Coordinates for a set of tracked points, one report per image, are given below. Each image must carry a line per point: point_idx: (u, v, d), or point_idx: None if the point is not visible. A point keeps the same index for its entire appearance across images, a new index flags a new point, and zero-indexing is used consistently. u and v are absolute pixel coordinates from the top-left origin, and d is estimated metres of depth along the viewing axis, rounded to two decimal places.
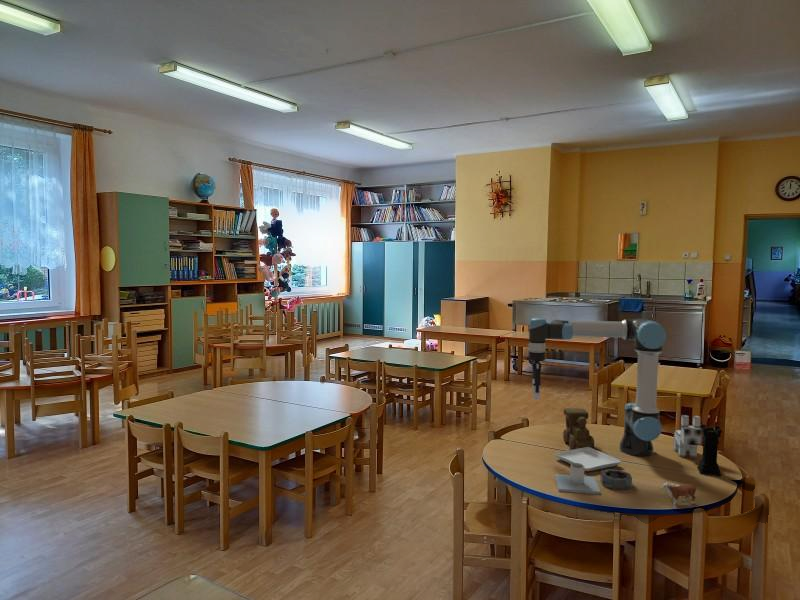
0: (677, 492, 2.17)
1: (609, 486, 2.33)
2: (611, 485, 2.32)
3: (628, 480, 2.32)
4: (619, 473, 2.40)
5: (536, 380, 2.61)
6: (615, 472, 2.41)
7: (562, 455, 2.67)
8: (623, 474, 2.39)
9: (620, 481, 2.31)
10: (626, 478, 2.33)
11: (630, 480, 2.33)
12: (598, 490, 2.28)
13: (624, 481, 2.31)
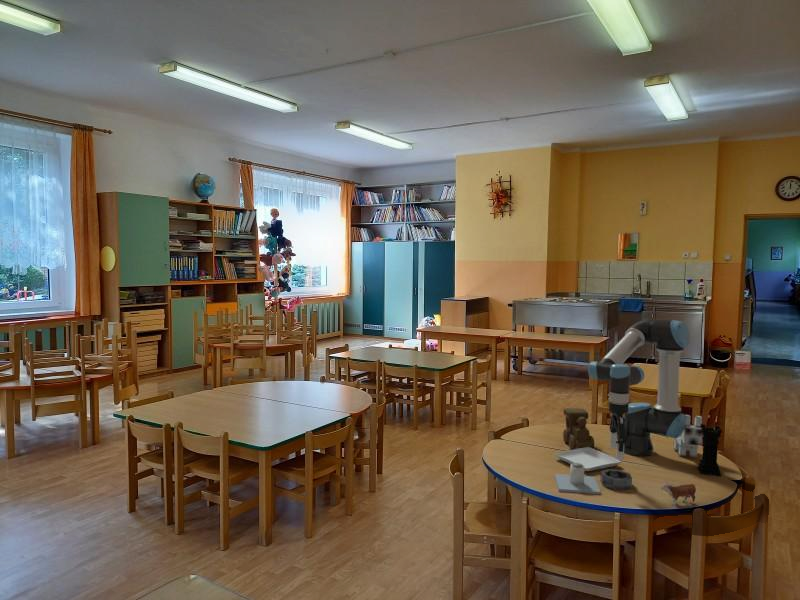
0: (677, 492, 2.17)
1: (609, 486, 2.33)
2: (611, 485, 2.32)
3: (628, 480, 2.32)
4: (619, 473, 2.40)
5: (621, 437, 2.26)
6: (615, 472, 2.41)
7: (562, 455, 2.67)
8: (623, 474, 2.39)
9: (620, 481, 2.31)
10: (626, 478, 2.33)
11: (630, 480, 2.33)
12: (598, 490, 2.28)
13: (624, 481, 2.31)
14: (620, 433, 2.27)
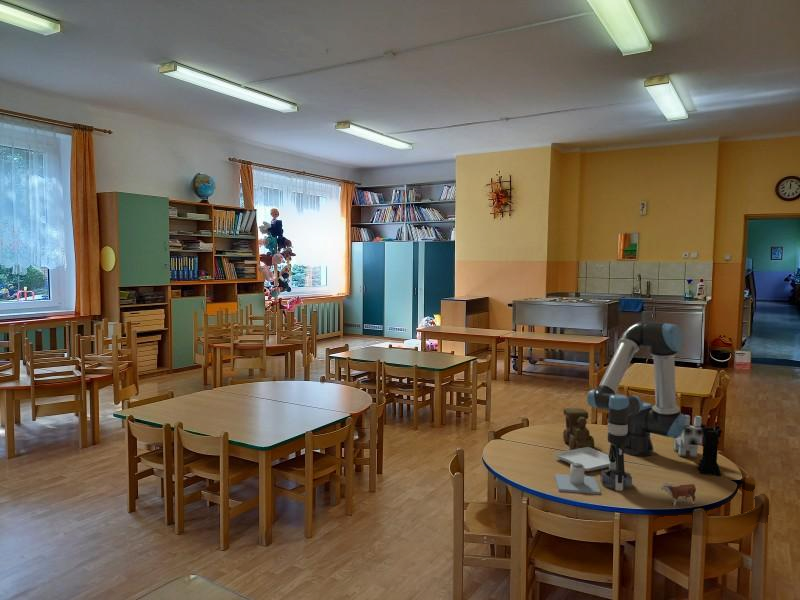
0: (677, 492, 2.17)
1: (609, 486, 2.33)
2: (611, 485, 2.32)
3: (628, 480, 2.32)
4: None
5: (619, 469, 2.27)
6: (615, 472, 2.41)
7: (562, 455, 2.67)
8: None
9: None
10: (626, 478, 2.33)
11: (630, 480, 2.33)
12: (598, 490, 2.28)
13: (624, 481, 2.31)
14: (619, 465, 2.28)
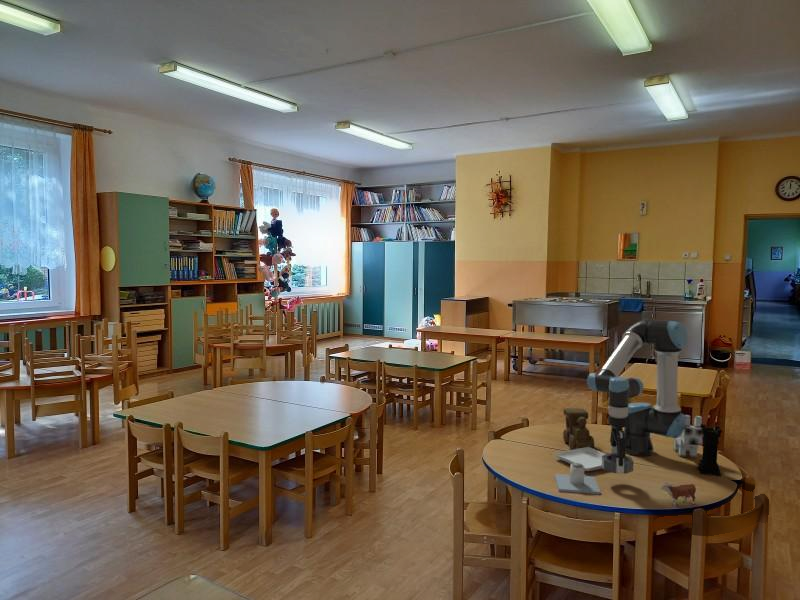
0: (677, 492, 2.17)
1: (611, 470, 2.33)
2: (612, 469, 2.32)
3: (629, 464, 2.32)
4: None
5: (620, 452, 2.28)
6: None
7: (562, 455, 2.67)
8: (624, 458, 2.39)
9: None
10: (627, 462, 2.33)
11: (631, 464, 2.33)
12: (598, 490, 2.28)
13: (625, 465, 2.31)
14: (620, 448, 2.28)
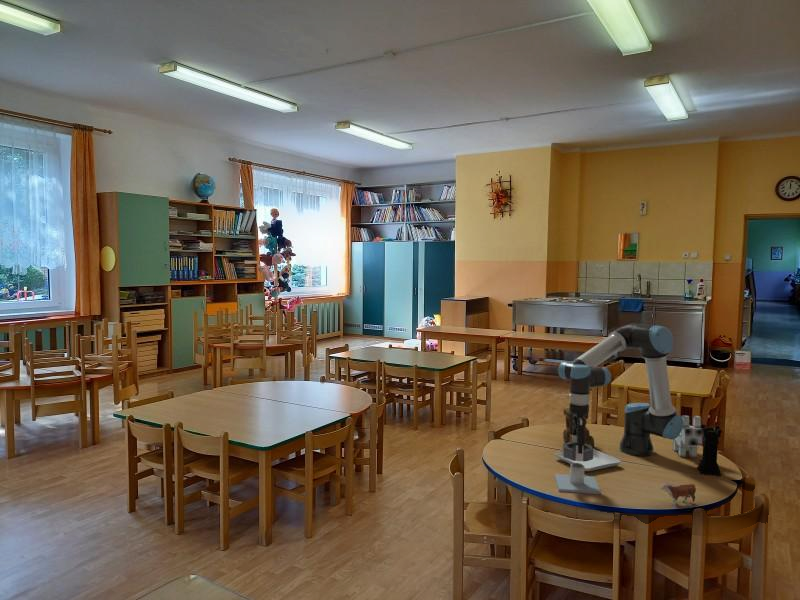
0: (677, 492, 2.17)
1: (570, 457, 2.31)
2: (572, 456, 2.30)
3: (589, 452, 2.30)
4: None
5: (579, 439, 2.26)
6: None
7: (562, 455, 2.67)
8: (585, 446, 2.37)
9: None
10: (587, 450, 2.31)
11: (591, 452, 2.31)
12: (598, 490, 2.28)
13: (585, 452, 2.29)
14: (579, 435, 2.26)
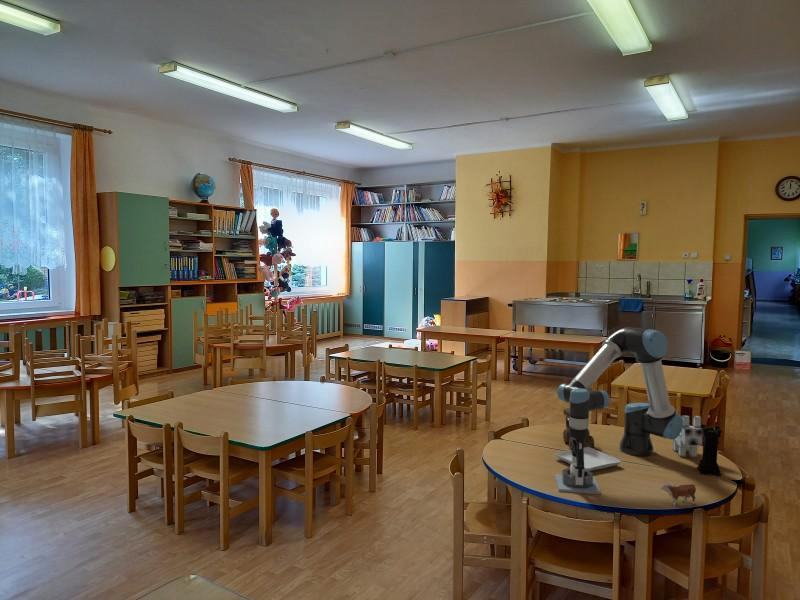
0: (677, 492, 2.17)
1: (570, 484, 2.32)
2: (571, 483, 2.31)
3: (589, 478, 2.31)
4: None
5: (579, 463, 2.26)
6: None
7: (562, 455, 2.67)
8: (585, 472, 2.38)
9: None
10: (587, 476, 2.32)
11: (591, 478, 2.32)
12: (598, 490, 2.28)
13: (584, 479, 2.30)
14: (579, 459, 2.27)
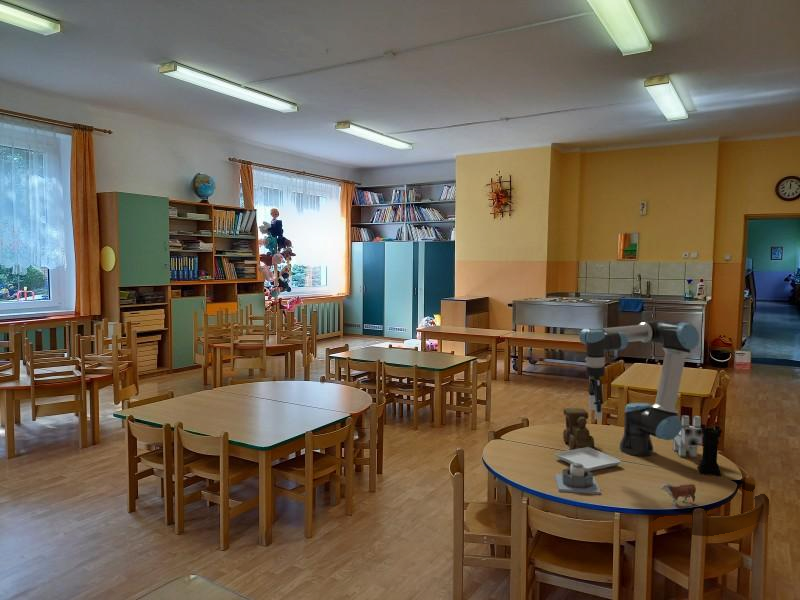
0: (677, 492, 2.17)
1: (570, 484, 2.32)
2: (571, 483, 2.31)
3: (589, 478, 2.31)
4: None
5: (598, 398, 2.39)
6: None
7: (562, 455, 2.67)
8: (585, 472, 2.38)
9: (580, 479, 2.30)
10: (587, 476, 2.32)
11: (591, 478, 2.32)
12: (598, 490, 2.28)
13: (584, 479, 2.30)
14: (597, 394, 2.39)
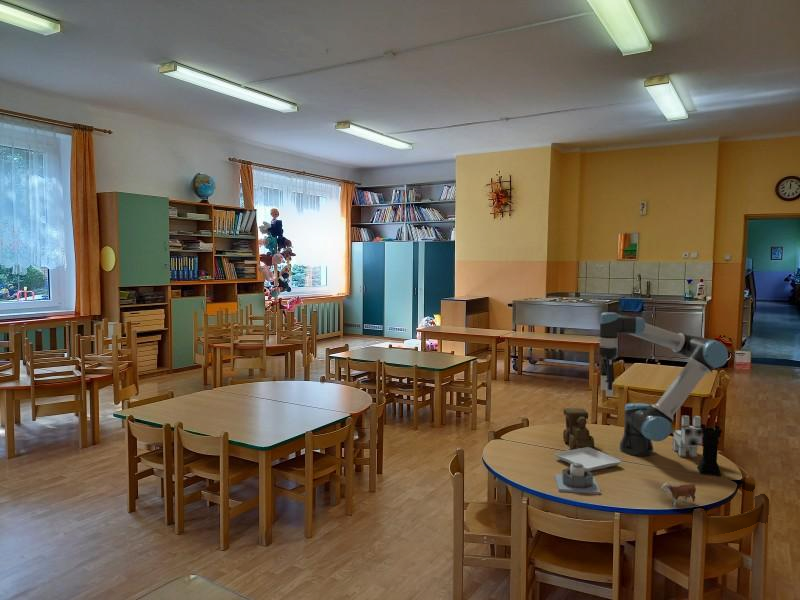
0: (677, 492, 2.17)
1: (570, 484, 2.32)
2: (571, 483, 2.31)
3: (589, 478, 2.31)
4: None
5: (609, 376, 2.52)
6: None
7: (562, 455, 2.67)
8: (585, 472, 2.38)
9: (580, 479, 2.30)
10: (587, 476, 2.32)
11: (591, 478, 2.32)
12: (598, 490, 2.28)
13: (584, 479, 2.30)
14: (609, 373, 2.52)
